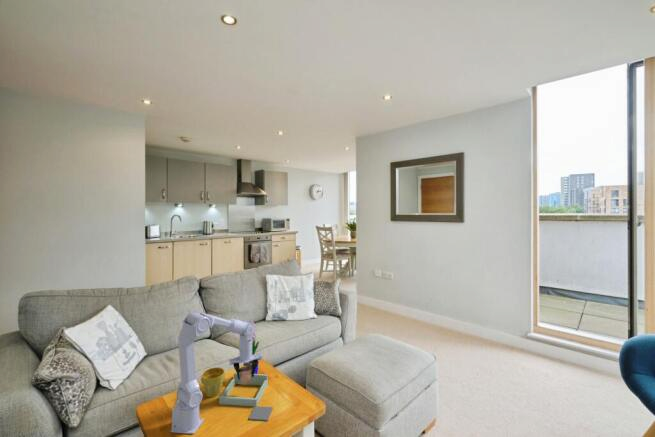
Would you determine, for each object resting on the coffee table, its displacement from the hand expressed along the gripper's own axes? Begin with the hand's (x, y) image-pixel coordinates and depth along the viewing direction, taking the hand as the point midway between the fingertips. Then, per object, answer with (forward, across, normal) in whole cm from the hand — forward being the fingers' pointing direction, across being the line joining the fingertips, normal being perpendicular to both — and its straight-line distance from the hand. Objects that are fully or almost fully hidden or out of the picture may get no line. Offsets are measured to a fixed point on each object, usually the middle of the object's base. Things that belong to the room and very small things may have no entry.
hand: (245, 377), depth 139 cm
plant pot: (+9, -14, +7) cm, 18 cm away
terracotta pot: (+2, 0, 0) cm, 2 cm away
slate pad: (+8, +5, -16) cm, 19 cm away
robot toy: (+9, -27, +2) cm, 28 cm away
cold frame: (+8, 0, +1) cm, 8 cm away
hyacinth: (+9, +5, +15) cm, 18 cm away
